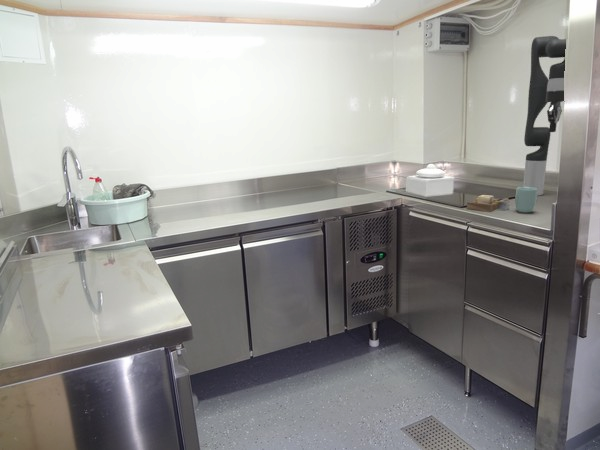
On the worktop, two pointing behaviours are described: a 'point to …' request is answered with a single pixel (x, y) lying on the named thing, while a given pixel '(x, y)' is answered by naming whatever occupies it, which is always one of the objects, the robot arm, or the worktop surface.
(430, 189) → the butter dish
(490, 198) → the block
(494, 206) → the beam rails
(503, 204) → the block
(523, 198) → the cup
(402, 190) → the worktop surface
